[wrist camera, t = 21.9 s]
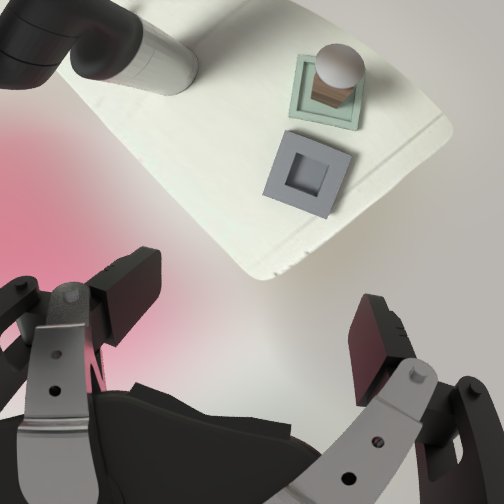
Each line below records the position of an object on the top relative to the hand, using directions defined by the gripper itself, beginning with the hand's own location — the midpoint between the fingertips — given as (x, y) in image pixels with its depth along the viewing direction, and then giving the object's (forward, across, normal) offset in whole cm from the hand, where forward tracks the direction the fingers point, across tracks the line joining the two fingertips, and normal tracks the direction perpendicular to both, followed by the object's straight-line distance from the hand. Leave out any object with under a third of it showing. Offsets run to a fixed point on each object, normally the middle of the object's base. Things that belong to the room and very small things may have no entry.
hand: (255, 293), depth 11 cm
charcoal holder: (+34, -2, -2) cm, 34 cm away
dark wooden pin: (+33, -3, -14) cm, 36 cm away
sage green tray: (+34, -3, -14) cm, 37 cm away
